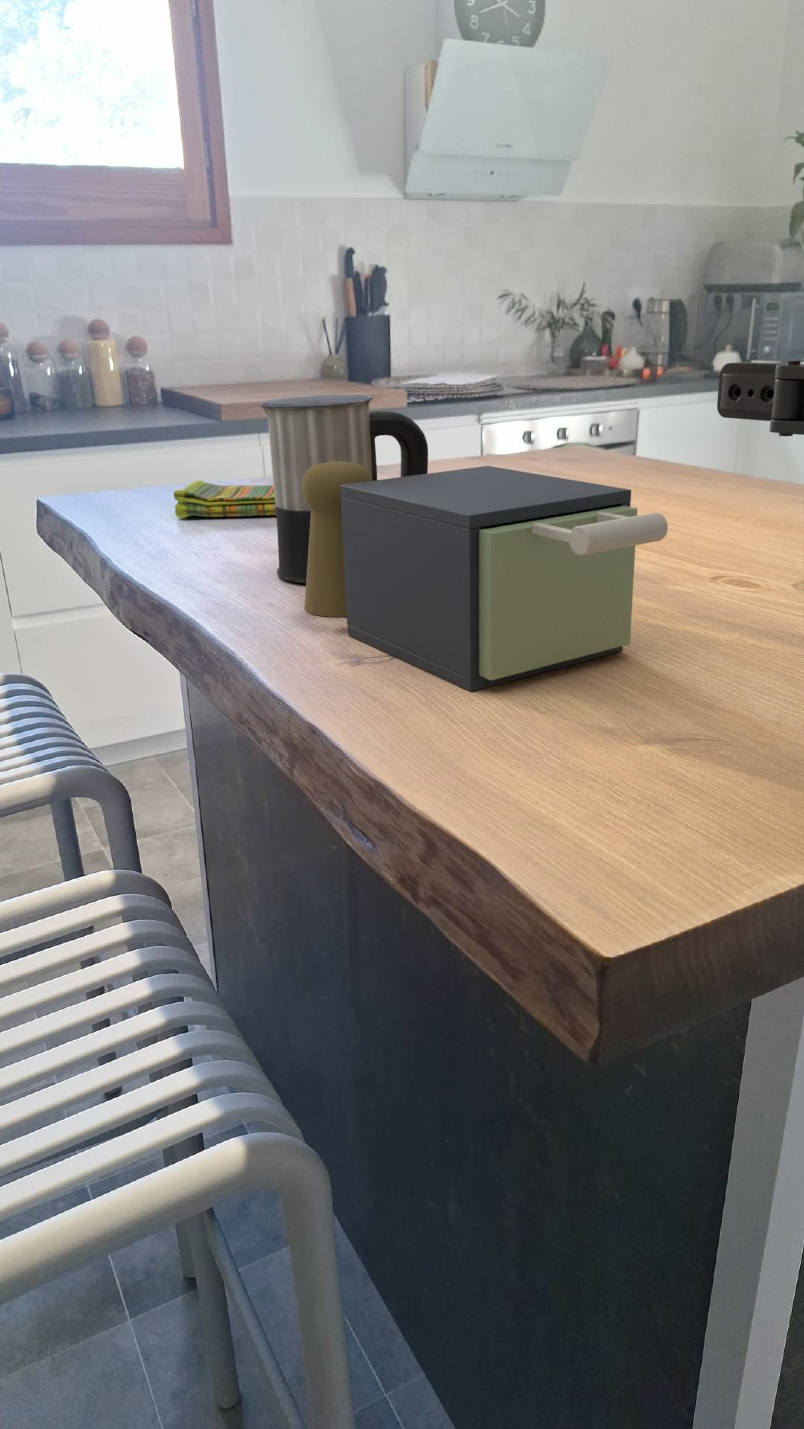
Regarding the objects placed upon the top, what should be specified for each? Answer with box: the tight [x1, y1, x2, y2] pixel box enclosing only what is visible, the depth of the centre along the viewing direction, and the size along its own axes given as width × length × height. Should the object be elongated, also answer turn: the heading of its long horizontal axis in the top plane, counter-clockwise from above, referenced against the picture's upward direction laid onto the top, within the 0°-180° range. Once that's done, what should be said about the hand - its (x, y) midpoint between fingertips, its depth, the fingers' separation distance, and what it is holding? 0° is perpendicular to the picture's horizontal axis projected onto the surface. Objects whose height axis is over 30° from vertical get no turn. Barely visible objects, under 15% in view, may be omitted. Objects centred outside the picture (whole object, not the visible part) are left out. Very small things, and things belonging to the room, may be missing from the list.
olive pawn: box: [302, 461, 371, 618], centre depth 78 cm, size 6×6×11 cm
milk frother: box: [260, 394, 429, 585], centre depth 91 cm, size 14×16×15 cm
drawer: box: [479, 506, 669, 680], centre depth 64 cm, size 18×11×9 cm, turn 33°
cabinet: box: [340, 465, 632, 692], centre depth 68 cm, size 15×13×11 cm
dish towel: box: [173, 479, 276, 519], centre depth 122 cm, size 15×36×3 cm, turn 91°
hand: (788, 383), depth 45 cm, fingers open, 8 cm apart
